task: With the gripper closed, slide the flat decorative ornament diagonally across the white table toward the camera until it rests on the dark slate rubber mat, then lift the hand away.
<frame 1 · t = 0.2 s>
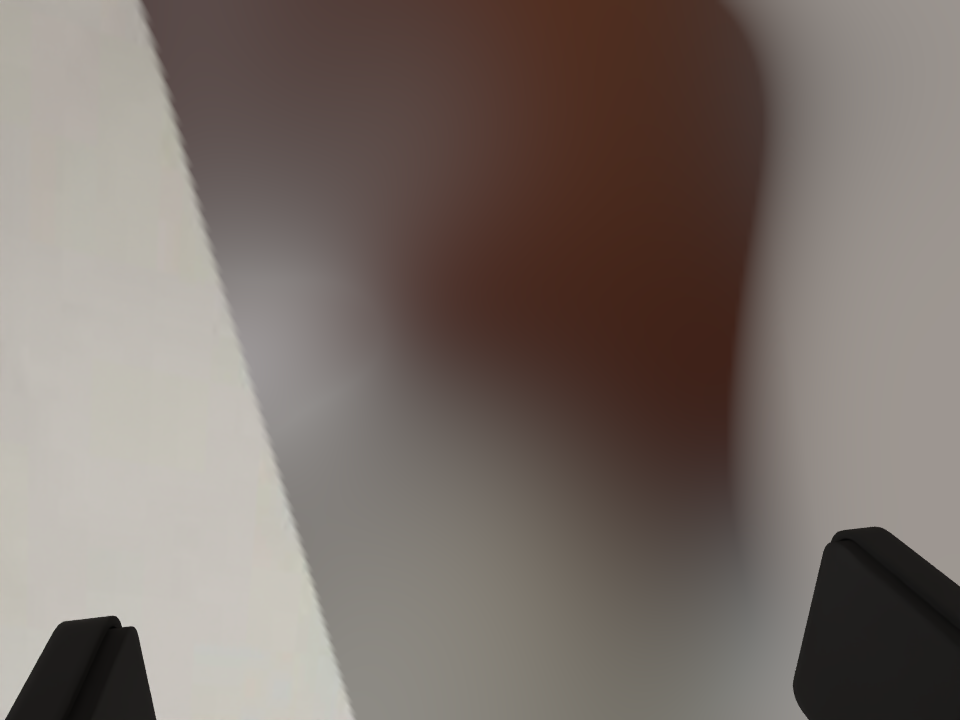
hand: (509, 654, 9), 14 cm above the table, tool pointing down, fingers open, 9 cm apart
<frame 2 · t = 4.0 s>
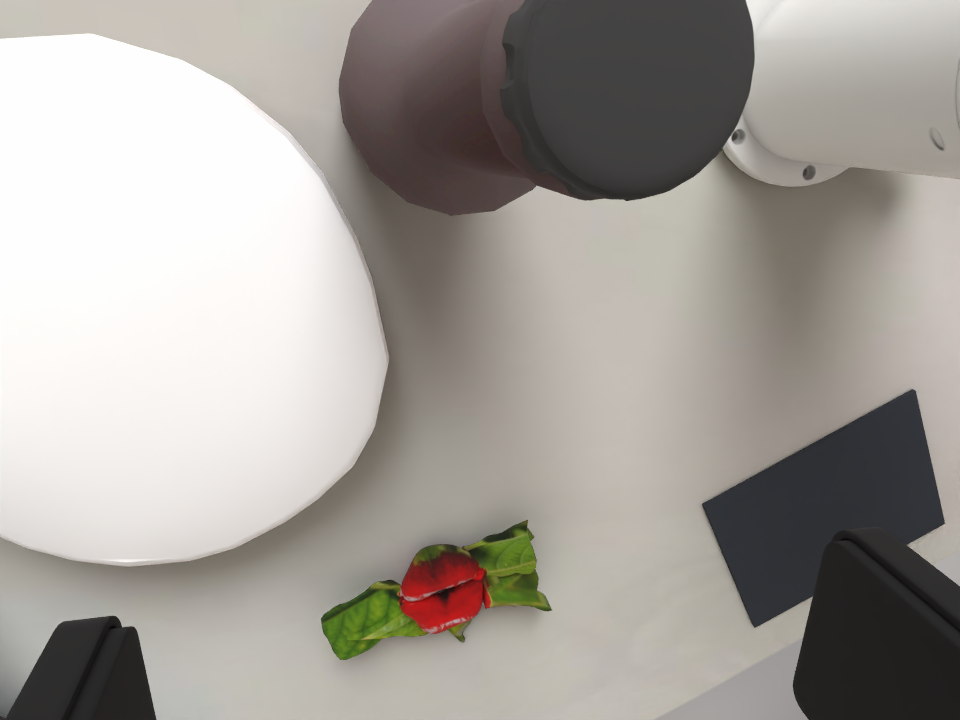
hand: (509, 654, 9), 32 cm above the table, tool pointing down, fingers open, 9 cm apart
beer bottle: (410, 100, 36), on the table
plate: (135, 311, 37), on the table
decorative ornament: (436, 585, 48), on the table
mat: (828, 513, 52), on the table
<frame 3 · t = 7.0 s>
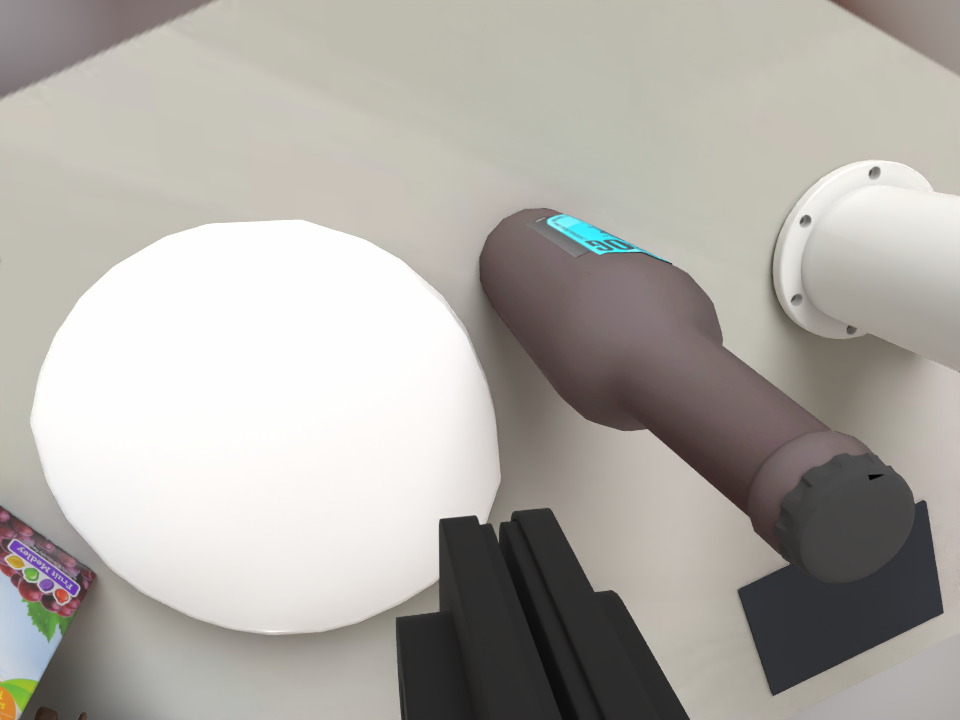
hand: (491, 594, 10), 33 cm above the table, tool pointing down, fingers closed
beer bottle: (532, 263, 44), on the table
plate: (291, 421, 44), on the table
mat: (844, 600, 60), on the table
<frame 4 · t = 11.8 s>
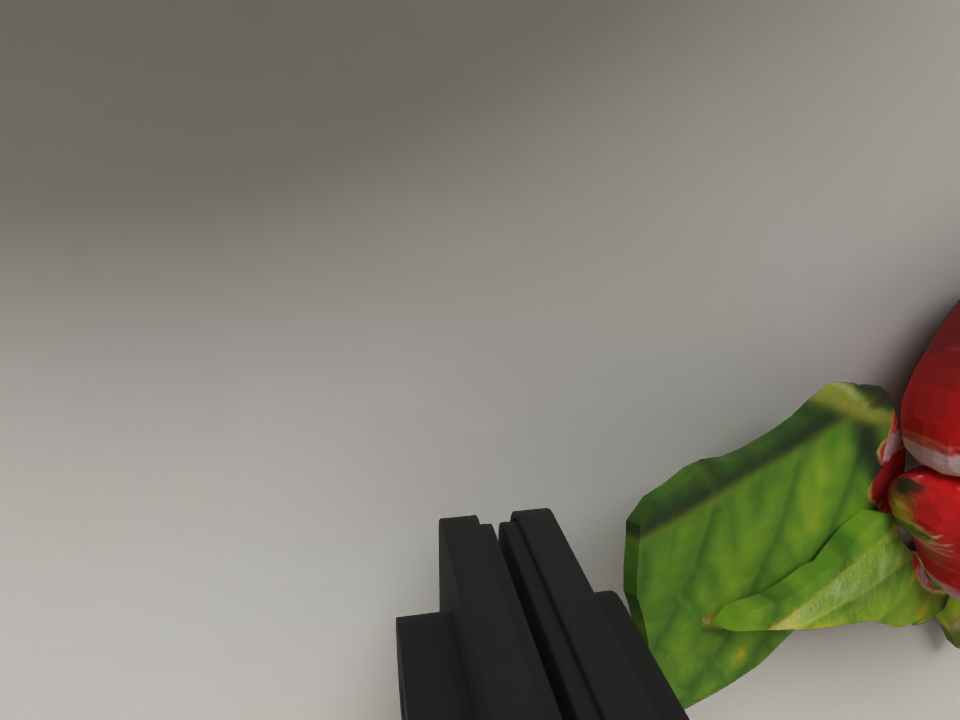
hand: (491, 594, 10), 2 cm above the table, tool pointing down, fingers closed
decorative ornament: (934, 450, 13), on the table, touching gripper
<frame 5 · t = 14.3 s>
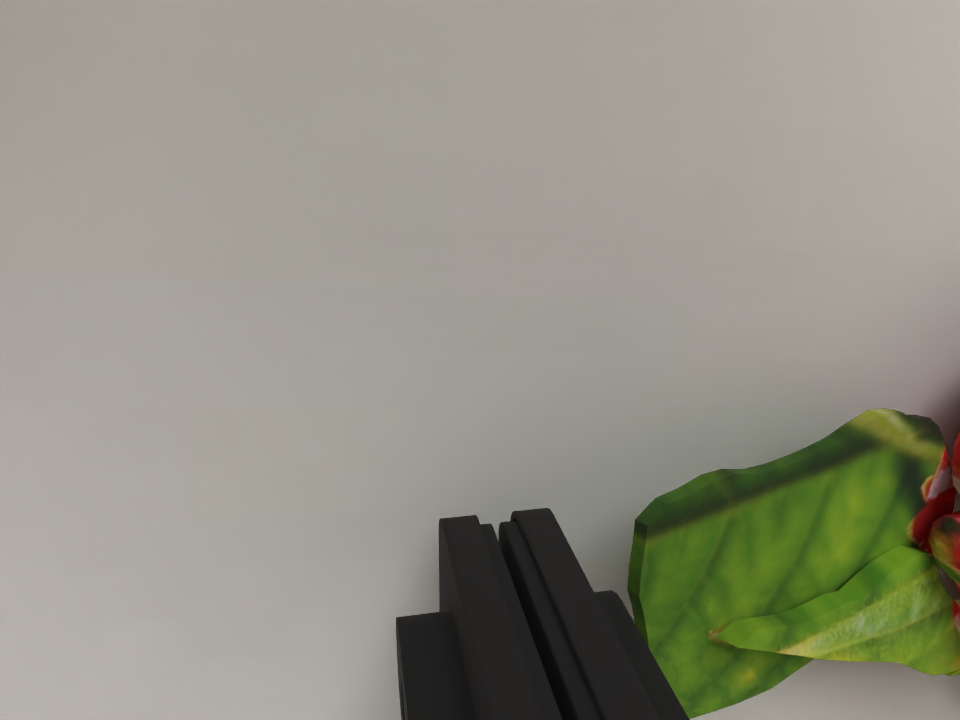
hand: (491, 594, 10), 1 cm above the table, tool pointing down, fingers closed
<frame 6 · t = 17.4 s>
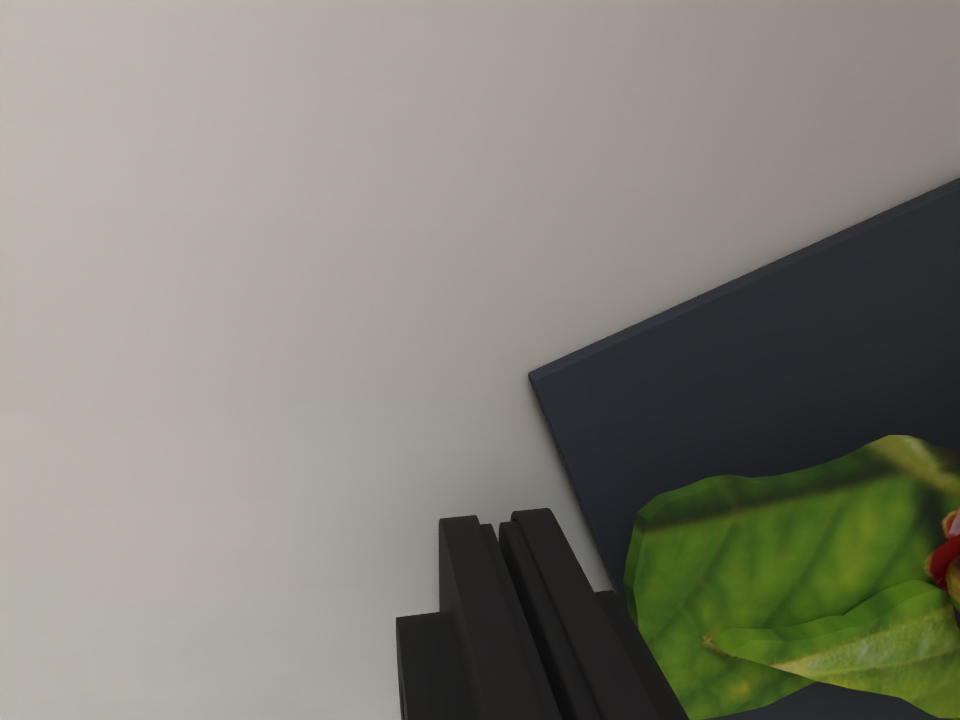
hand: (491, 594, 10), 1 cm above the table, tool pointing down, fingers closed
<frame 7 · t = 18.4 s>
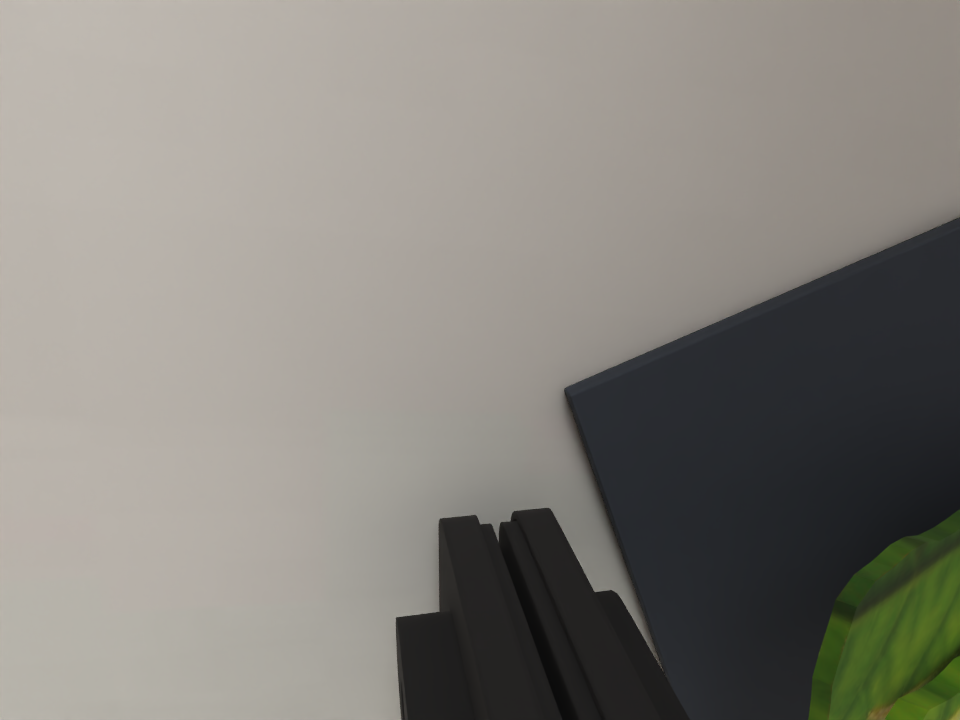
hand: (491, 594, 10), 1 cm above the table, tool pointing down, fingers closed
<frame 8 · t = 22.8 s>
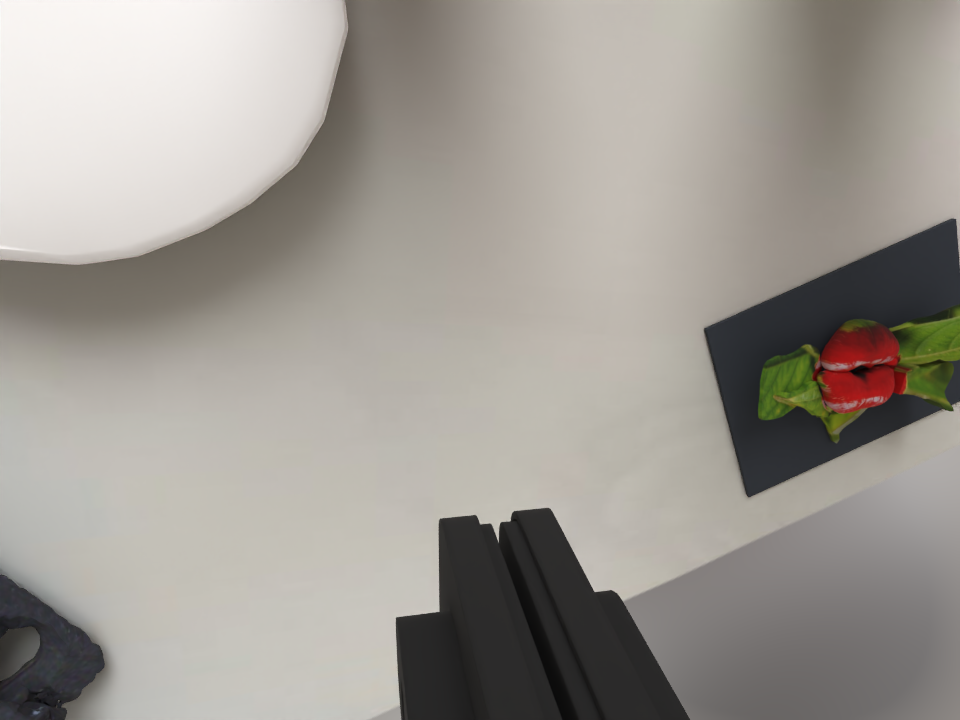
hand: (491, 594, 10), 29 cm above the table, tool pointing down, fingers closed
decorative ornament: (830, 374, 46), resting on mat
mat: (844, 364, 46), on the table
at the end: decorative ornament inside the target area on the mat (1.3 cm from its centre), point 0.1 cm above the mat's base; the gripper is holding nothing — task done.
